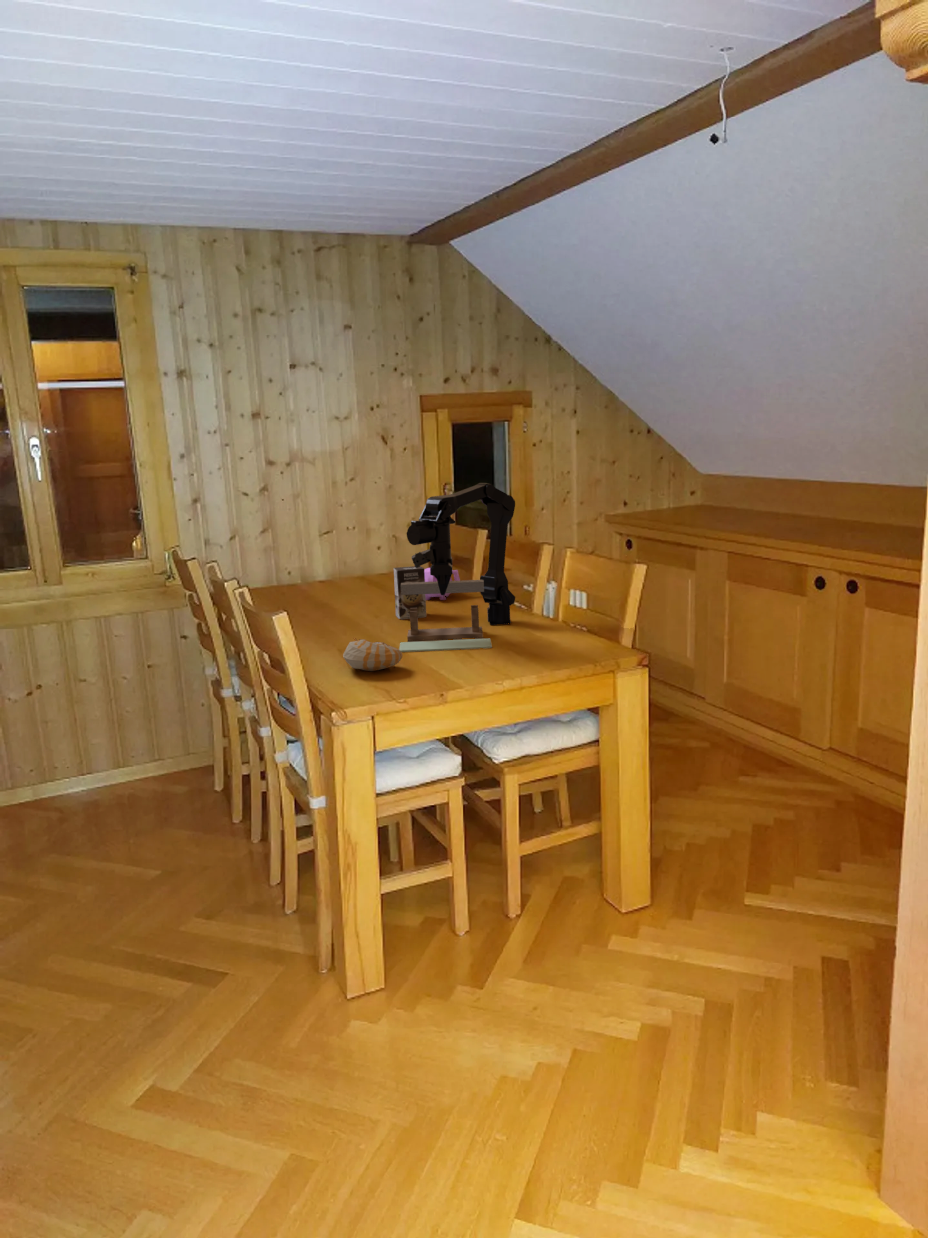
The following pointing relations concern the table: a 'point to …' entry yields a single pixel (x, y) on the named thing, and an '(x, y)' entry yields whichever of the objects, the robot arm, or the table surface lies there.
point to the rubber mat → (445, 645)
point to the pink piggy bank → (432, 579)
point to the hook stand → (444, 629)
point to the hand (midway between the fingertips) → (442, 593)
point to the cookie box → (409, 601)
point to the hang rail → (434, 588)
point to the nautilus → (371, 655)
